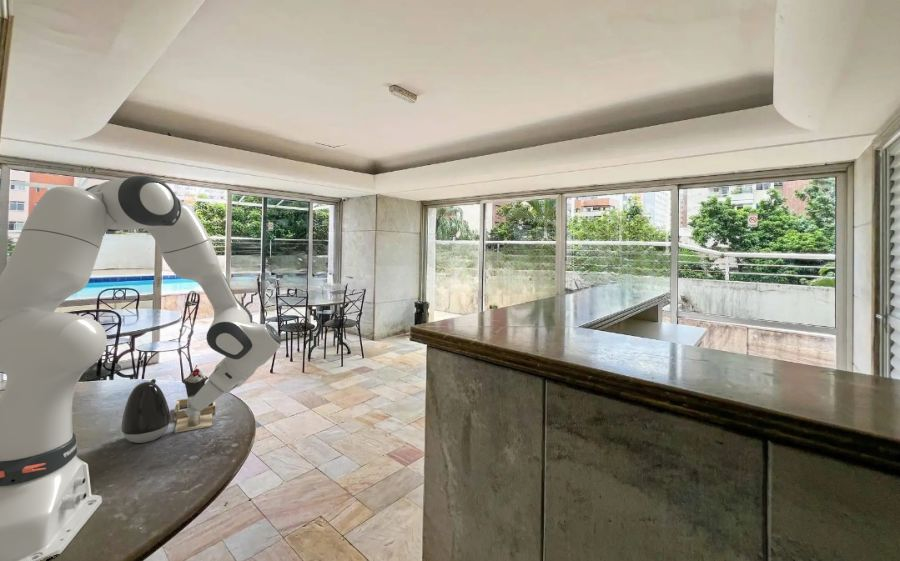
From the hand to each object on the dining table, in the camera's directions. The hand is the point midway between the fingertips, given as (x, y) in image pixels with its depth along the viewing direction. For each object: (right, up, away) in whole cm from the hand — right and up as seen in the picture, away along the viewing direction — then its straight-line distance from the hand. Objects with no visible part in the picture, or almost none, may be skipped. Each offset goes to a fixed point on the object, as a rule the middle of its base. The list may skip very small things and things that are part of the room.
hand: (195, 406), depth 109 cm
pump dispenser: (-8, -6, -7) cm, 12 cm away
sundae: (-7, -5, +10) cm, 13 cm away
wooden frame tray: (-4, -5, +6) cm, 9 cm away
